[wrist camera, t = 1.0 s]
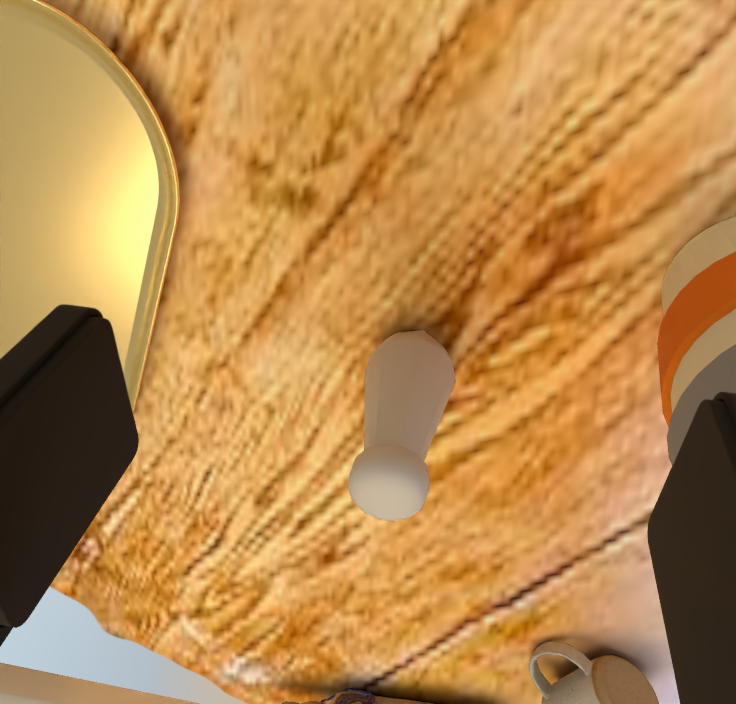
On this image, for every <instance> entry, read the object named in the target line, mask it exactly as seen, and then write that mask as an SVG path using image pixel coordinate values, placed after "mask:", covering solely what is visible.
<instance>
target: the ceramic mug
mask: <svg viewBox="0 0 736 704" xmlns="http://www.w3.org/2000/svg"><path fill="white" fill-rule="evenodd" d="M545 654H557V655H561V656H563V657H565V658H567V659H569V660H570V661H572V662H573V663H575V664H576V665H577V666H578V667H579V668H578V669H577V670H575V671H573V672H572V673H570V674H568V675H566V676H565V677H563V678H561V679H560V680H558V681H557V682H555V683H553V684H552V685H551V684H550V683H549V682H548V681H547V680H546V678H545V677H544V676H543V674H542V673H541V671H540V669H539V668H538V665H537V660H536V659H537V658H538V657H540V656H542V655H545ZM529 670H530V675H531V677H532V680H533V682H534V683H535V685H536V687H537V688H538V690H539V691H540V692H541V693H542V694H543V698H542V704H659V702H658V699H657V696H656V694H655V692H654V690H653V688H652V686H651V684H650V683H649V681H648V680H647V678H646V677H645V676H644V675H643V674H642V673H641V672H640V670H639V669H637V668H636V667H635V666H634V665H633V664H631V663H630V662H628V661H627V660H625V659H623V658H620V657H617V656H613V655H605V656H602V657H598V658H595V659H593V660H591V661H590V660H589V659H588V658H587V657H586V656H585V655H584V654H583V653H582V652H581V651H579V650H577V649H575V648H574V647H572V646H570V645H569V644H566V643H562V642H558V641H549V642H545V643H543V644H541V645H539V646H538V647H537V648H536V649H535V651H534V653H533V655H532V657H531V659H530V663H529Z"/></svg>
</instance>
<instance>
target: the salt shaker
mask: <svg viewBox="0 0 736 704" xmlns="http://www.w3.org/2000/svg"><path fill="white" fill-rule="evenodd" d="M455 382H456V381H455V374H454V368H453V362H452V359H451V358H450V356H449V354H448V353H447V351H446V350H445V348H444V346H442V345H441V344H440V343H439V342H437V341H436V340H435V339H433V338H432V337H431V336H430V335H428V334H427V333H426V332H425V331H423V330H420V331H408V332H397V333H395V334H393V335H392V336H390V337H389V338H387V339H386V340H385V341H383V342H382V343H381V344H380V345H379V346H378V347H377V348H376V349H375V350H374V351H373V352H372V354H371V355H370V357H369V361H368V364H367V367H366V370H365V440H364V451H363V452H362V453H361V454H359V455H358V456H357V457H356V459H355V461H354V464H353V467H352V469H351V472H350V475H349V478H348V490H349V492H350V495H351V498H352V501H353V502H354V503H355V504H356V505H357V506H358V507H359V508H360V509H361V510H362V511H364V512H365V513H366V514H368V515H370V516H372V517H375V518H377V519H381V520H388V521H396V520H402V519H406V518H409V517H411V516H413V515H414V514H416V513H417V512H419V511H420V510H422V507H423V505H424V502H425V500H426V498H427V495H428V492H429V488H430V479H429V474H428V470H427V466H426V464H425V463H424V460H425V458H426V455H427V452H428V450H429V447H430V445H431V442H432V440H433V437H434V435H435V432H436V430H437V427H438V425H439V422H440V420H441V417H442V414H443V412H444V409H445V407H446V404H447V402H448V399H449V397H450V394H451V392H452V389H453V387H454V384H455Z"/></svg>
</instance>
